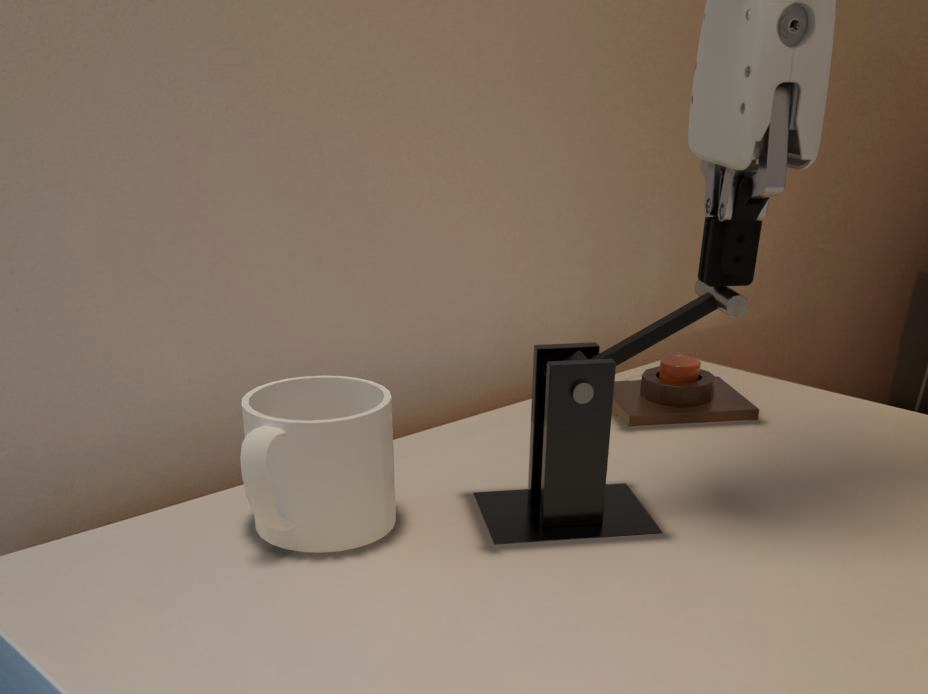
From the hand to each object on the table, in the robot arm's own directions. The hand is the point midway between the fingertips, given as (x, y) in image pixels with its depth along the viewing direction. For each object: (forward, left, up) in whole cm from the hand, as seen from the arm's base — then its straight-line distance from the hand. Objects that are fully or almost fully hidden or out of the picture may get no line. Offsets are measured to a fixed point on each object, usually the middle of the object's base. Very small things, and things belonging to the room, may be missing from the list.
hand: (724, 282), depth 66 cm
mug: (+28, 0, -17) cm, 33 cm away
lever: (+5, 0, -5) cm, 7 cm away
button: (-6, -22, -13) cm, 26 cm away
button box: (-6, -22, -17) cm, 28 cm away
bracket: (+10, 0, -17) cm, 20 cm away
